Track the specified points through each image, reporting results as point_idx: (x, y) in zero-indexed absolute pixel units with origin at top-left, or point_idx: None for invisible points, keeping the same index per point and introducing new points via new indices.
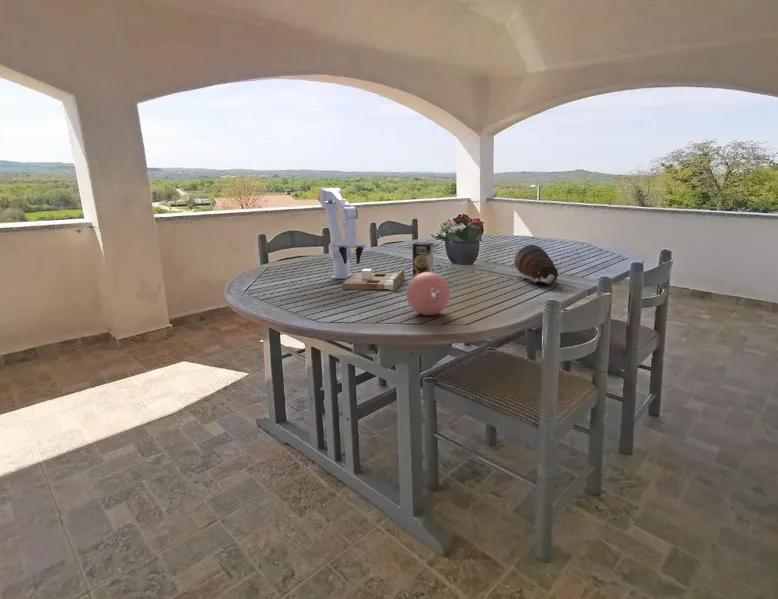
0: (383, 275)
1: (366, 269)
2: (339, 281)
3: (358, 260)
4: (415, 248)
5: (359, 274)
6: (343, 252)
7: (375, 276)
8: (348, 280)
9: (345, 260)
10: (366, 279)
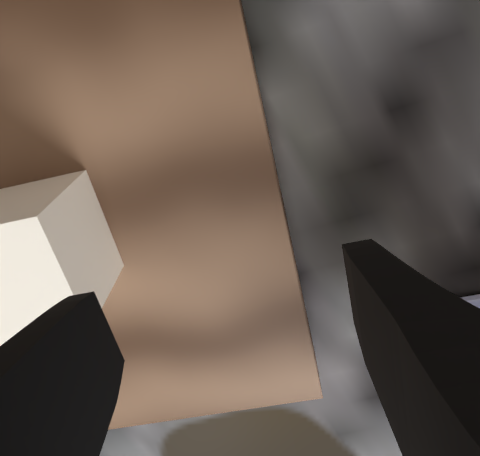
0: None
1: (22, 305)
2: (431, 196)
3: (19, 340)
4: None
5: (249, 355)
6: (473, 417)
7: None
8: (212, 39)
9: (359, 291)
10: (21, 172)
